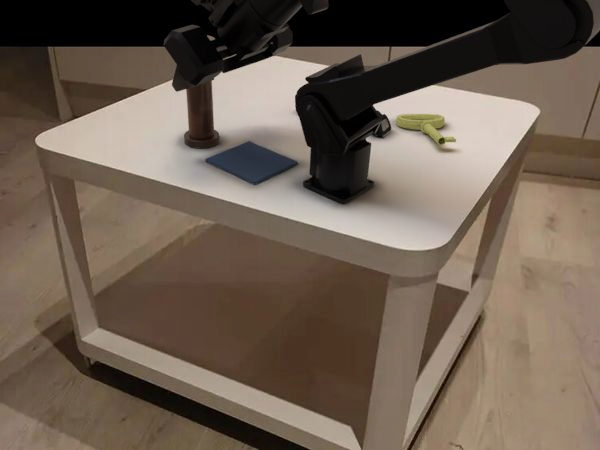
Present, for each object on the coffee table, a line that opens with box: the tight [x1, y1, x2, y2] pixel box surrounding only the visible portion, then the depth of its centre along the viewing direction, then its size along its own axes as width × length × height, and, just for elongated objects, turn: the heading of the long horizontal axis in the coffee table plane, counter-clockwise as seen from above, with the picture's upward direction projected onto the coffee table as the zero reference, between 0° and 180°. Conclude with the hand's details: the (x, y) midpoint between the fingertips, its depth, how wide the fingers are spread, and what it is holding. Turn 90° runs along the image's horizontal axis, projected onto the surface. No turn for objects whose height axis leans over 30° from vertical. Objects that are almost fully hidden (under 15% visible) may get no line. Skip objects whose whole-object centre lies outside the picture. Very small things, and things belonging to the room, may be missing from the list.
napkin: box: [204, 140, 299, 186], centre depth 80 cm, size 9×8×1 cm
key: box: [395, 113, 457, 146], centre depth 90 cm, size 7×12×2 cm, turn 26°
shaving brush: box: [183, 34, 220, 149], centre depth 82 cm, size 5×5×14 cm
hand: (199, 78), depth 81 cm, fingers open, 9 cm apart
